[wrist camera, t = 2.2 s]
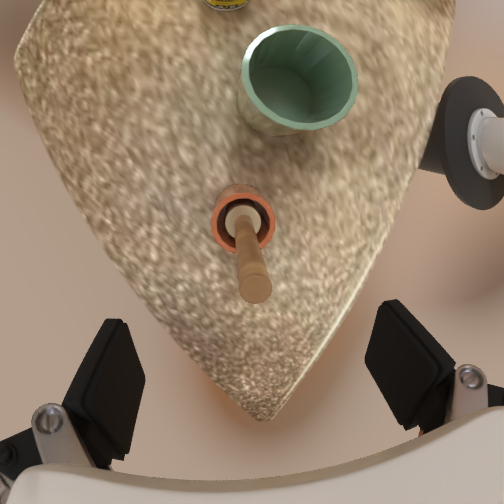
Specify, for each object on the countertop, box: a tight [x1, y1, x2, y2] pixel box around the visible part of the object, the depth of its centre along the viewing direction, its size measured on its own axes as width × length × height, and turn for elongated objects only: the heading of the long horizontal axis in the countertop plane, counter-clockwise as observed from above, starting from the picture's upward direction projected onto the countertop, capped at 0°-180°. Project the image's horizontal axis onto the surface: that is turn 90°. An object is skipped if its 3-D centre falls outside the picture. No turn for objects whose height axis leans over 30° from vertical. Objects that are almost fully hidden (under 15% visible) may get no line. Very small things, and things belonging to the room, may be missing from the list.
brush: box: [225, 198, 272, 304], centre depth 21 cm, size 3×3×17 cm
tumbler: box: [237, 24, 358, 136], centre depth 20 cm, size 8×8×11 cm
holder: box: [211, 184, 275, 254], centre depth 27 cm, size 6×6×6 cm
